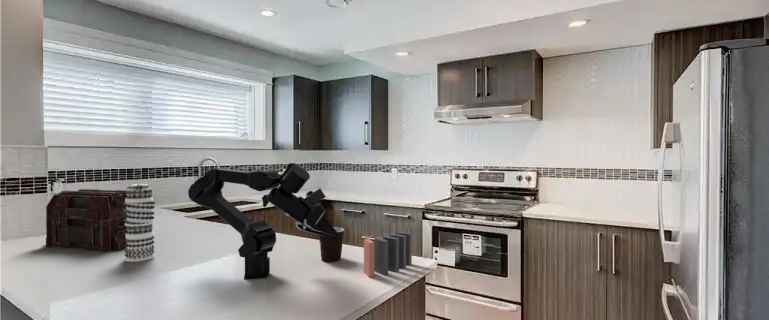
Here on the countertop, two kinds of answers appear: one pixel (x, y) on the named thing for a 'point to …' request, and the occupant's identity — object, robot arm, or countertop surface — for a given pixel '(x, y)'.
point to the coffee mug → (331, 246)
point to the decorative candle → (139, 222)
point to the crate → (87, 220)
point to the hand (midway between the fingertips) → (332, 234)
